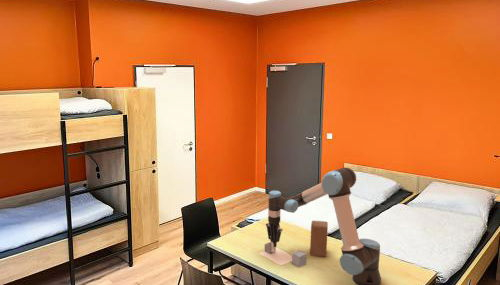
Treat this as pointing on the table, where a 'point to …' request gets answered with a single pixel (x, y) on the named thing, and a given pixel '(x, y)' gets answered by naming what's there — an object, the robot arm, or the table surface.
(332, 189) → the robot arm
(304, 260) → the slate cube
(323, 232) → the wooden block
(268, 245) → the grey cube
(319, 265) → the table surface
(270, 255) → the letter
